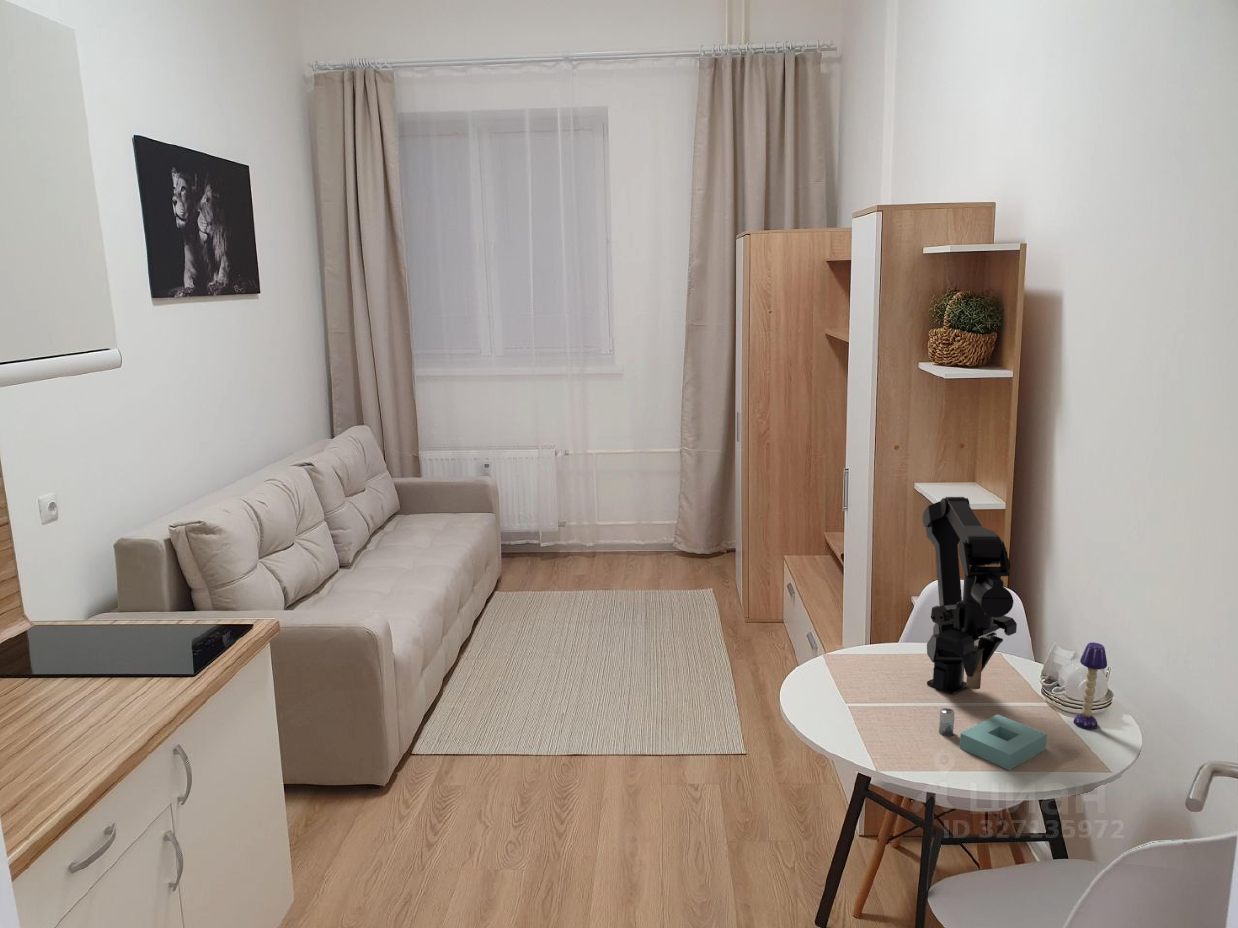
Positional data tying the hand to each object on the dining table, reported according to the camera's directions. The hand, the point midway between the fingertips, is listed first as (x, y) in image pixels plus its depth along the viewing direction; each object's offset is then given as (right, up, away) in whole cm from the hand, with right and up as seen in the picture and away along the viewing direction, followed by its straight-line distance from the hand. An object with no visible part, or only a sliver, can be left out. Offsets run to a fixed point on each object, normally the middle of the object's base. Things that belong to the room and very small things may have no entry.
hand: (973, 674), depth 183 cm
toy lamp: (+22, -10, 0) cm, 24 cm away
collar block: (+2, -12, -9) cm, 15 cm away
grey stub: (-6, -11, -2) cm, 13 cm away
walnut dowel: (0, -3, 0) cm, 3 cm away
